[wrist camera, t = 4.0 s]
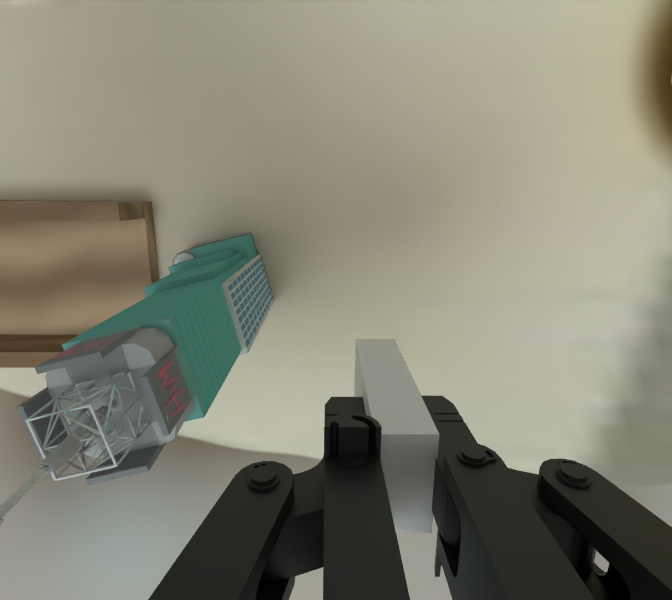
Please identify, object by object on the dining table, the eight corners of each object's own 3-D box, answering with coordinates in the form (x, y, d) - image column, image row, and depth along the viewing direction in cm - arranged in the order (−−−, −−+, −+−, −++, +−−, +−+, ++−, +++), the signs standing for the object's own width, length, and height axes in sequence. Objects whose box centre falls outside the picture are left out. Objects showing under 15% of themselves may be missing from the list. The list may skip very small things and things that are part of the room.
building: (206, 317, 36) (-327, 852, 7) (184, 249, 34) (-632, 551, 5) (274, 300, 35) (32, 779, 6) (254, 232, 34) (-179, 443, 5)
